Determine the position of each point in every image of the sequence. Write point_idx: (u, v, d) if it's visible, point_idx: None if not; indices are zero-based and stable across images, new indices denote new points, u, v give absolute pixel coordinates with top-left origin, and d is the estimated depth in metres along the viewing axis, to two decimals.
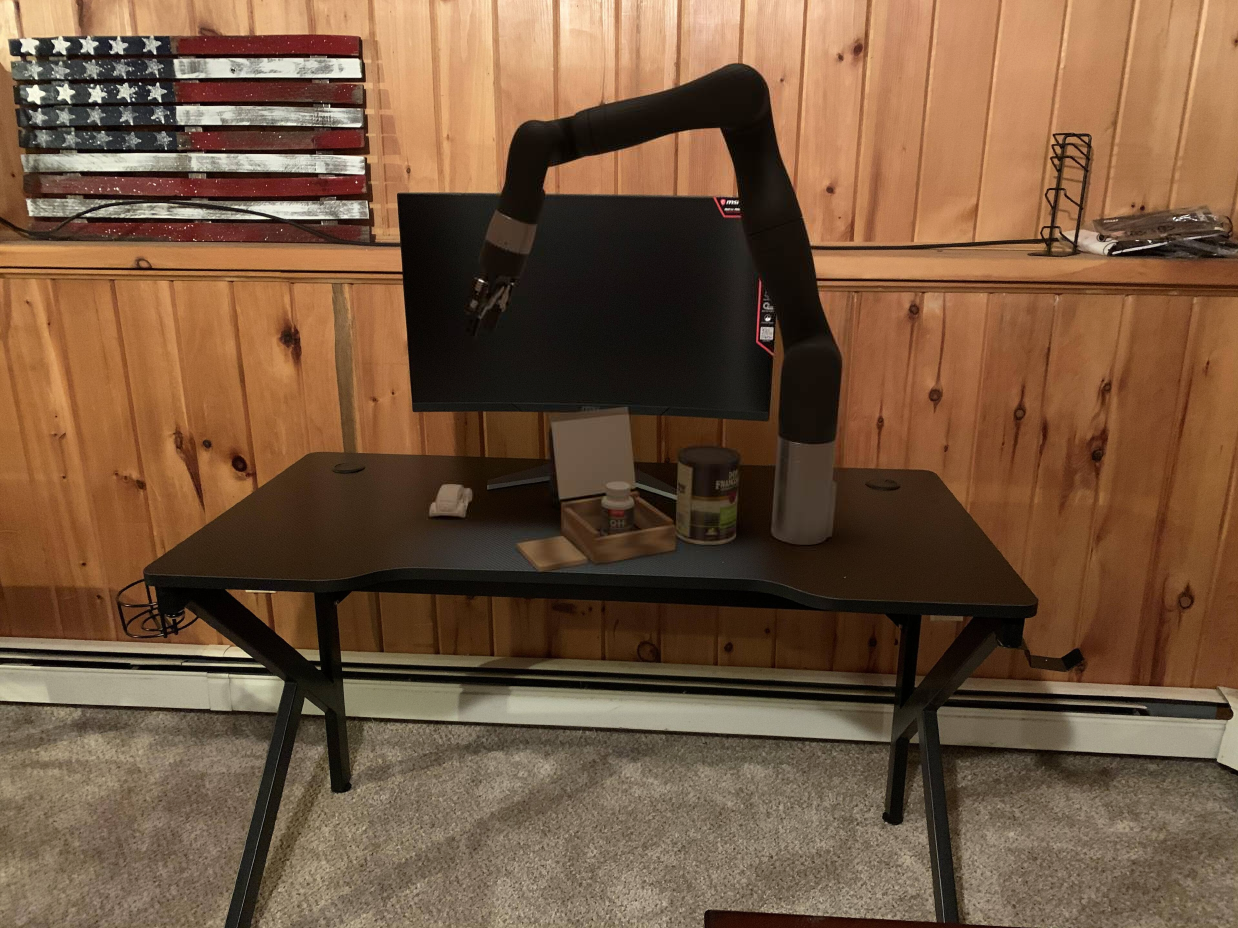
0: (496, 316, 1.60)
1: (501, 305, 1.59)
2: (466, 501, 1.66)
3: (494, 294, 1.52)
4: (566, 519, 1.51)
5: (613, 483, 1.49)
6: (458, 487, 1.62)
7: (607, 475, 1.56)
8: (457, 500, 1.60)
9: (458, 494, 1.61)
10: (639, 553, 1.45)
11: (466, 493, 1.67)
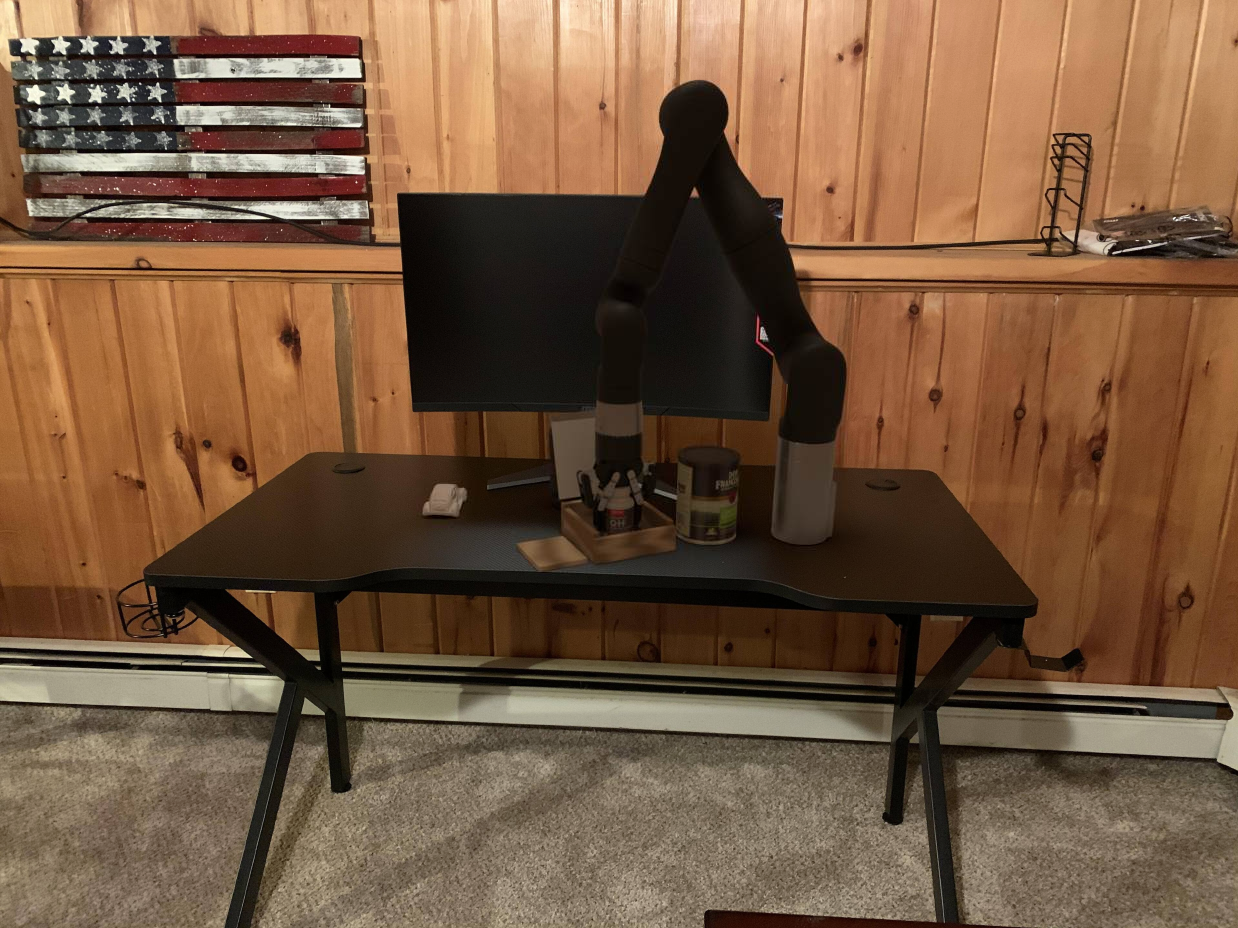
0: (634, 510, 1.50)
1: (634, 496, 1.49)
2: (460, 501, 1.66)
3: (608, 483, 1.45)
4: (566, 519, 1.51)
5: None
6: (452, 487, 1.63)
7: None
8: (450, 499, 1.60)
9: (451, 494, 1.61)
10: (639, 553, 1.45)
11: (460, 493, 1.67)
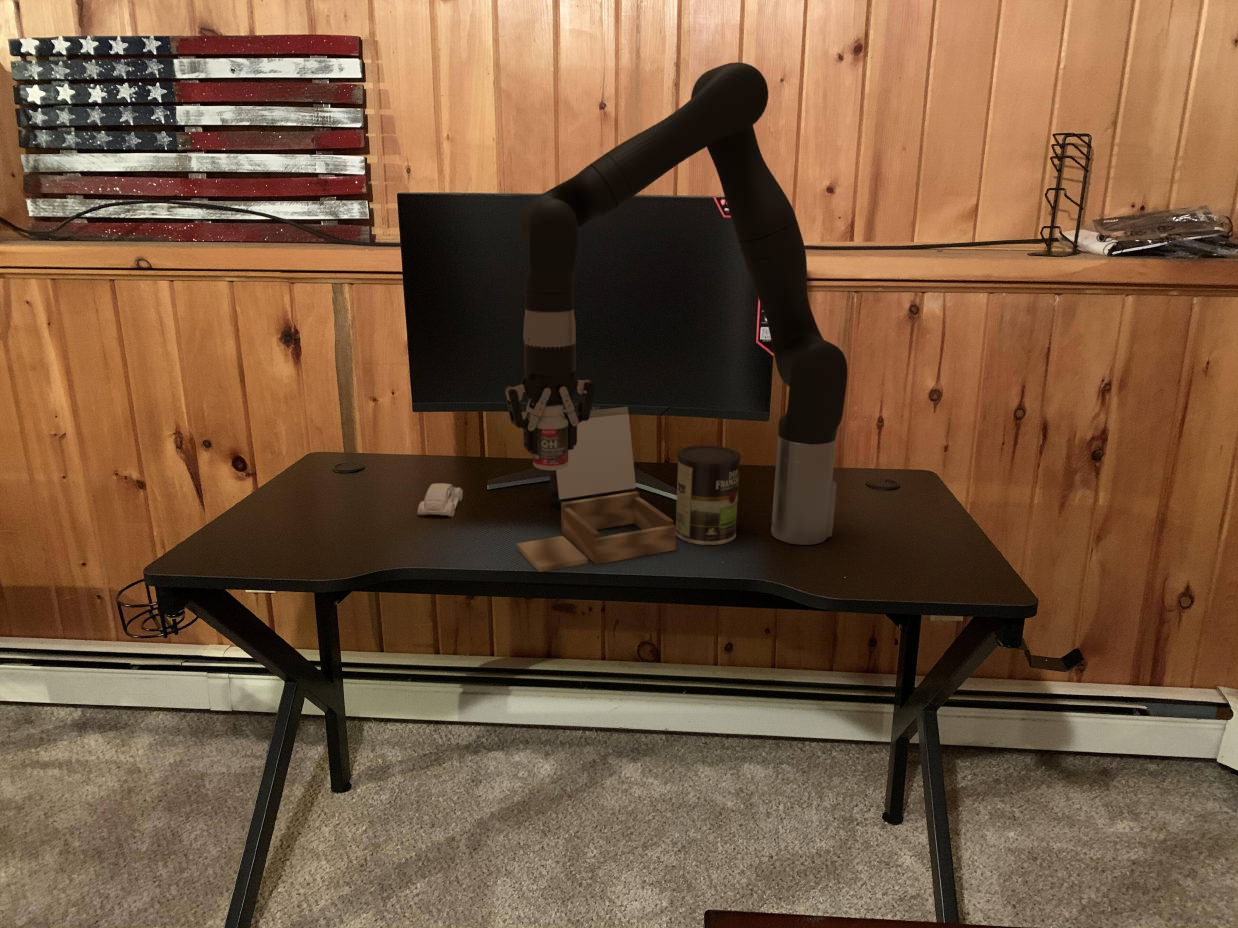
0: (568, 431, 1.39)
1: (568, 416, 1.38)
2: (455, 500, 1.66)
3: (538, 400, 1.35)
4: (566, 519, 1.51)
5: None
6: (447, 486, 1.63)
7: (607, 475, 1.56)
8: (445, 499, 1.60)
9: (446, 493, 1.61)
10: (639, 553, 1.45)
11: (456, 492, 1.67)
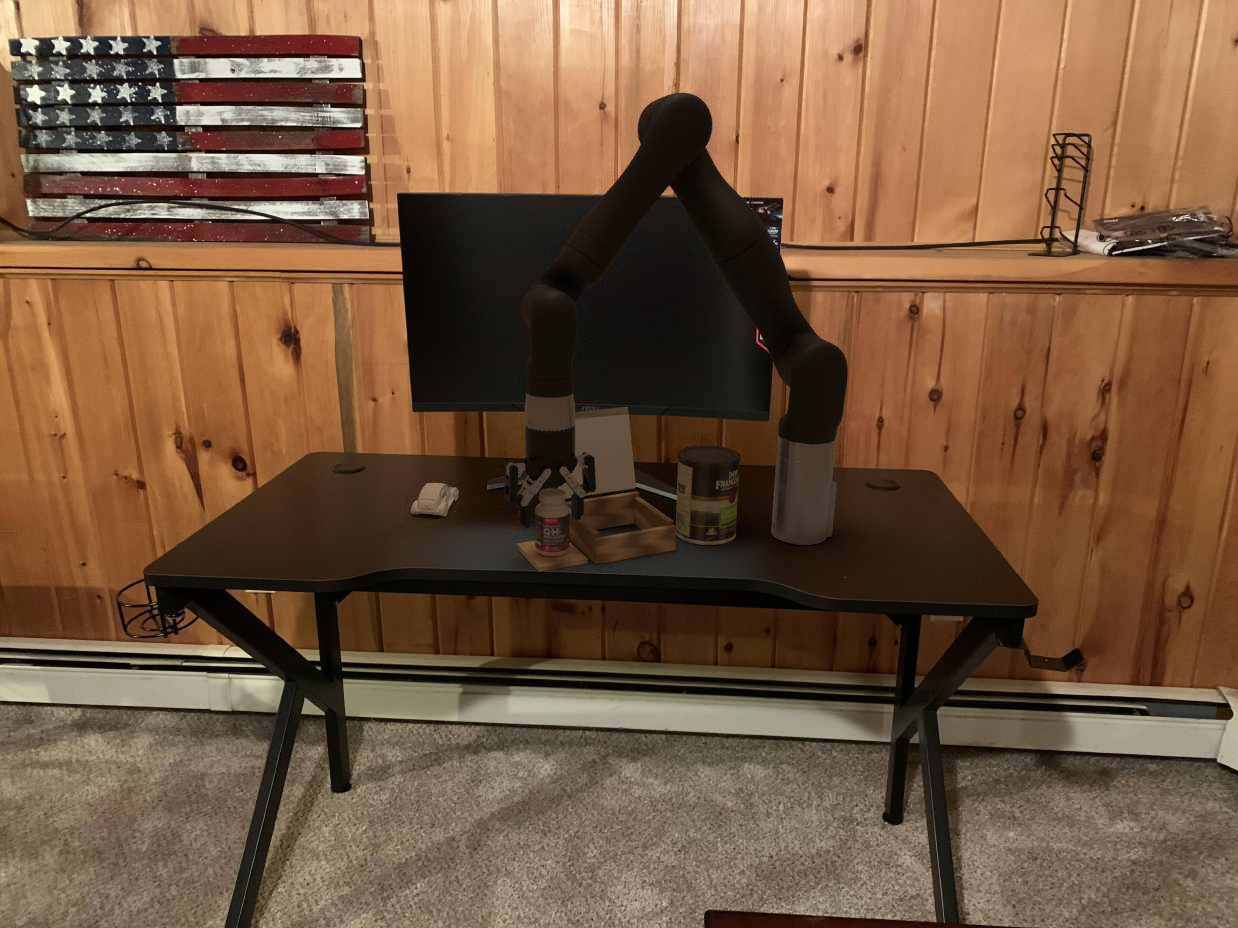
0: (575, 503, 1.44)
1: (574, 490, 1.42)
2: (450, 500, 1.66)
3: (537, 478, 1.38)
4: None
5: (547, 490, 1.43)
6: (441, 486, 1.63)
7: (607, 475, 1.56)
8: (439, 499, 1.60)
9: (440, 493, 1.61)
10: (639, 553, 1.45)
11: (451, 492, 1.67)
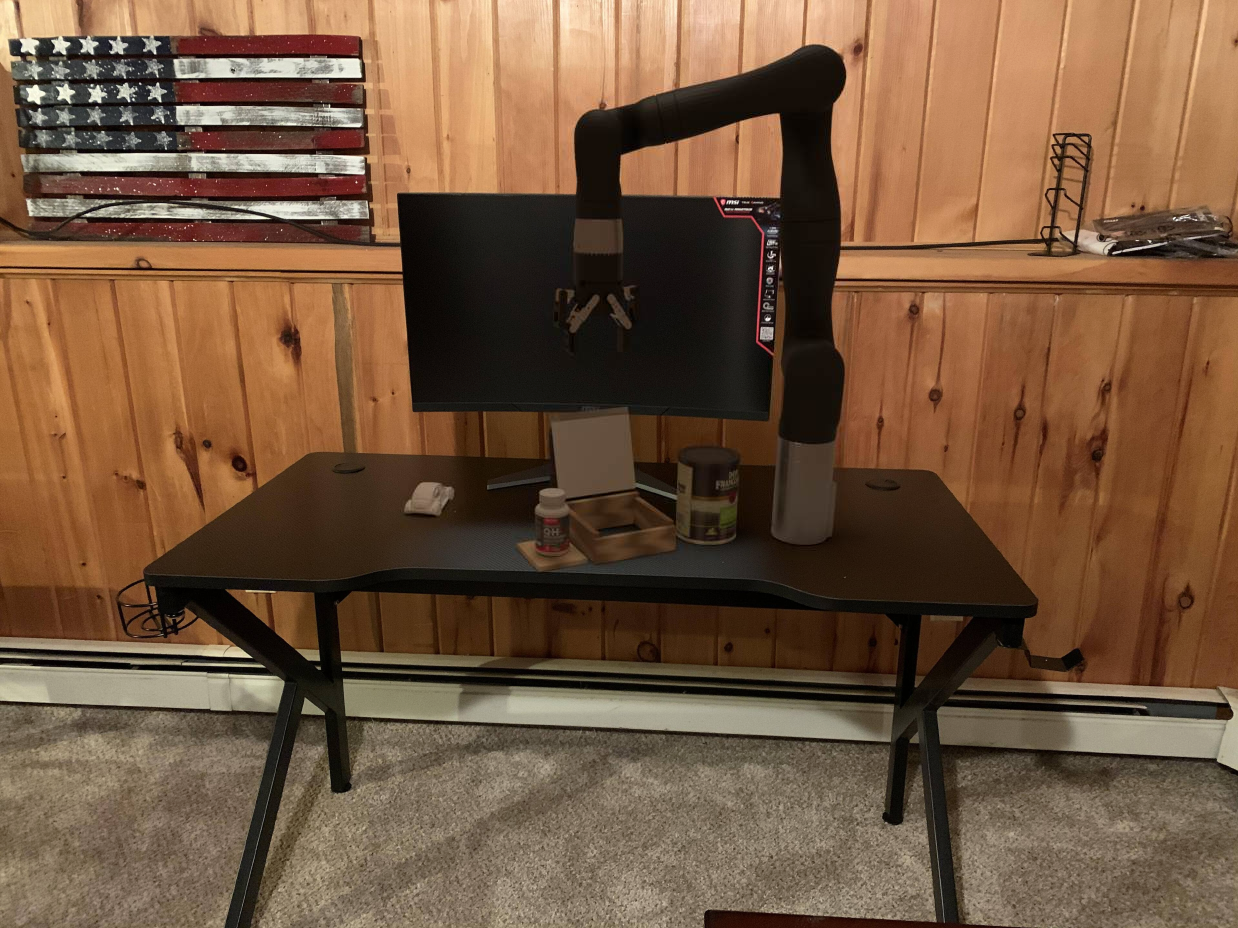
0: (621, 334, 1.47)
1: (620, 321, 1.45)
2: (445, 499, 1.66)
3: (585, 304, 1.41)
4: None
5: (547, 490, 1.43)
6: (435, 485, 1.63)
7: (607, 475, 1.56)
8: (432, 498, 1.61)
9: (434, 492, 1.62)
10: (639, 553, 1.45)
11: (446, 492, 1.67)
